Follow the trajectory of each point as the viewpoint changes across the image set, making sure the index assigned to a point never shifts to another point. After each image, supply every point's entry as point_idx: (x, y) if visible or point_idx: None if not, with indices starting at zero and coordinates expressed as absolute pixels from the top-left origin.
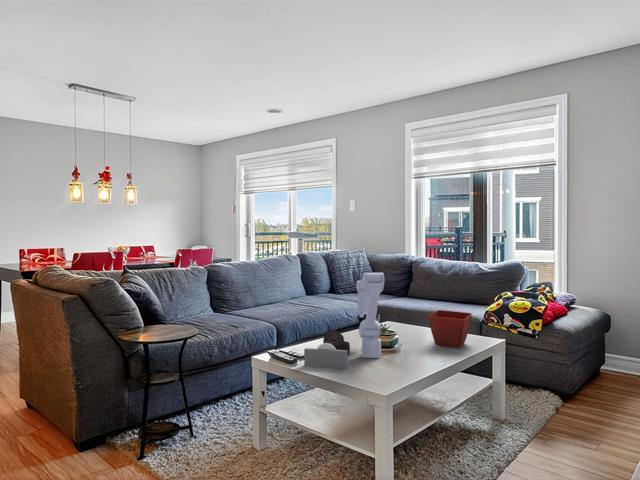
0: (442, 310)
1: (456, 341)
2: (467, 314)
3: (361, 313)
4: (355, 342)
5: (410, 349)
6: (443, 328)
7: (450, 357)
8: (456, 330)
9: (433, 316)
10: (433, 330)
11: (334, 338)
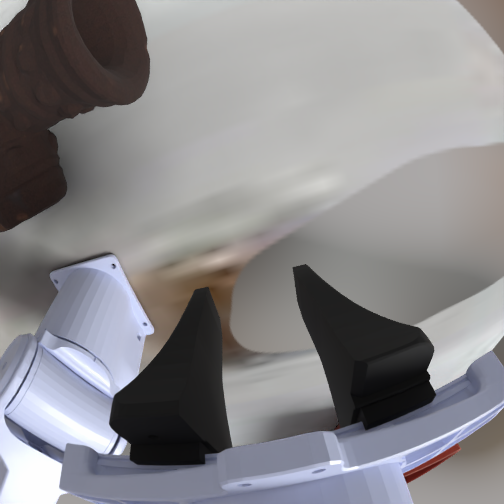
0: (452, 454)
1: None
2: (411, 477)
3: (91, 499)
4: (350, 117)
5: (289, 382)
6: None
7: (241, 443)
8: None
9: None
10: None
11: (1, 96)
